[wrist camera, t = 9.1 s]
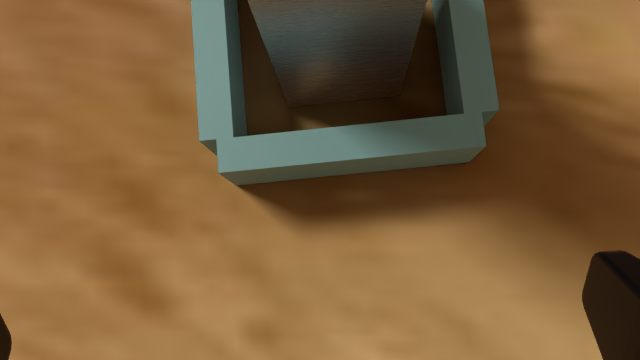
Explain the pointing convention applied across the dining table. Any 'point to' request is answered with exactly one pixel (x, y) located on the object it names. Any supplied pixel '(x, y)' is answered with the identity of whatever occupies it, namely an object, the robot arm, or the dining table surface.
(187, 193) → the dining table surface
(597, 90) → the dining table surface
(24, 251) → the dining table surface
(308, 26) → the gray rectangular block
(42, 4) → the dining table surface
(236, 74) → the teal square shallow tray
